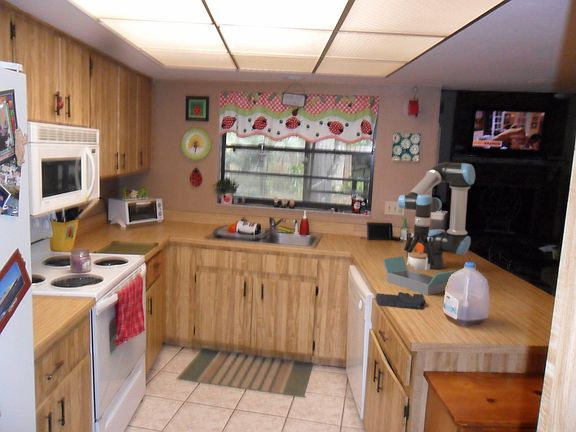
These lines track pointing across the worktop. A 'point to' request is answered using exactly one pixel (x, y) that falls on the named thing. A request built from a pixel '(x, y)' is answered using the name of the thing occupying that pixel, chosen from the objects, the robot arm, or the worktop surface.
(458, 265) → the worktop surface
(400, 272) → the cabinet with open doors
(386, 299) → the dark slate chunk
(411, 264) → the lidded jar
